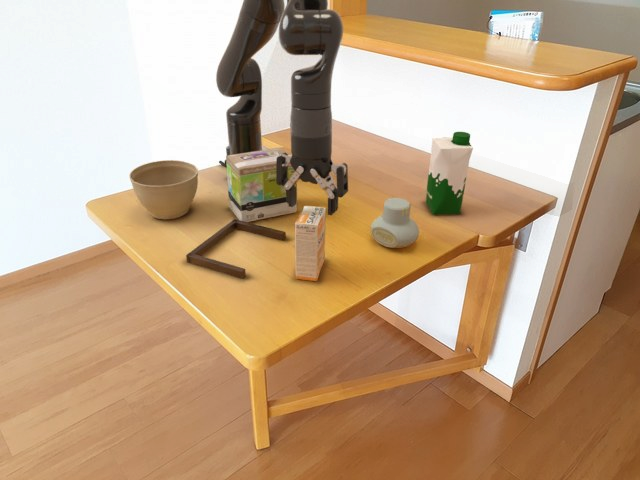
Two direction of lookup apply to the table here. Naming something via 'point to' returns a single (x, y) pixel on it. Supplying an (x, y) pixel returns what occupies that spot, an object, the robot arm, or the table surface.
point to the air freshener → (395, 225)
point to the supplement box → (310, 242)
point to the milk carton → (448, 173)
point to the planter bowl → (165, 187)
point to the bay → (197, 253)
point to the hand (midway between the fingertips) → (311, 209)
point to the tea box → (257, 185)
